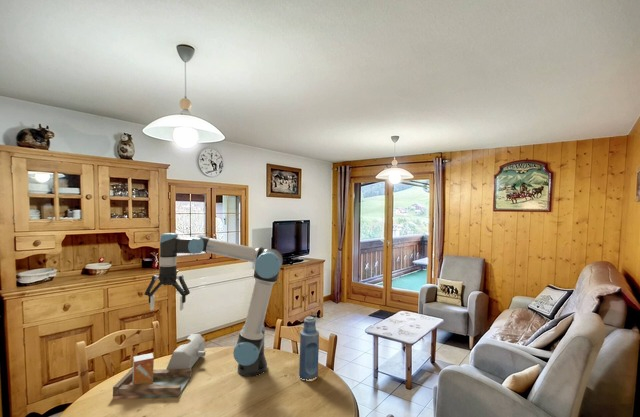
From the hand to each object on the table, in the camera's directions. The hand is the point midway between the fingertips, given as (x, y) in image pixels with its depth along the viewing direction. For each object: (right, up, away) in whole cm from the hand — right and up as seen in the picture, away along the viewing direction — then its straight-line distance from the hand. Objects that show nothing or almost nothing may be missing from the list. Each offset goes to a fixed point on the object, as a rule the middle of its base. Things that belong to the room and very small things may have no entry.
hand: (167, 309), depth 154 cm
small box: (-9, -34, -5) cm, 35 cm away
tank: (+4, -35, +17) cm, 39 cm away
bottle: (+68, -37, +7) cm, 77 cm away
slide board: (-3, -35, -5) cm, 35 cm away
